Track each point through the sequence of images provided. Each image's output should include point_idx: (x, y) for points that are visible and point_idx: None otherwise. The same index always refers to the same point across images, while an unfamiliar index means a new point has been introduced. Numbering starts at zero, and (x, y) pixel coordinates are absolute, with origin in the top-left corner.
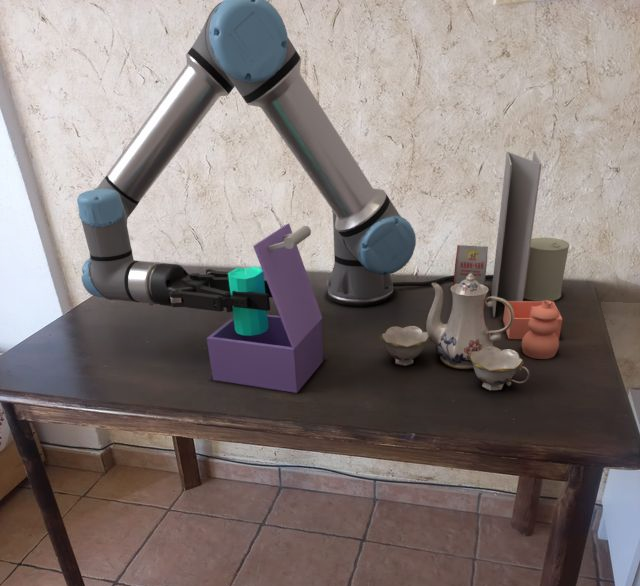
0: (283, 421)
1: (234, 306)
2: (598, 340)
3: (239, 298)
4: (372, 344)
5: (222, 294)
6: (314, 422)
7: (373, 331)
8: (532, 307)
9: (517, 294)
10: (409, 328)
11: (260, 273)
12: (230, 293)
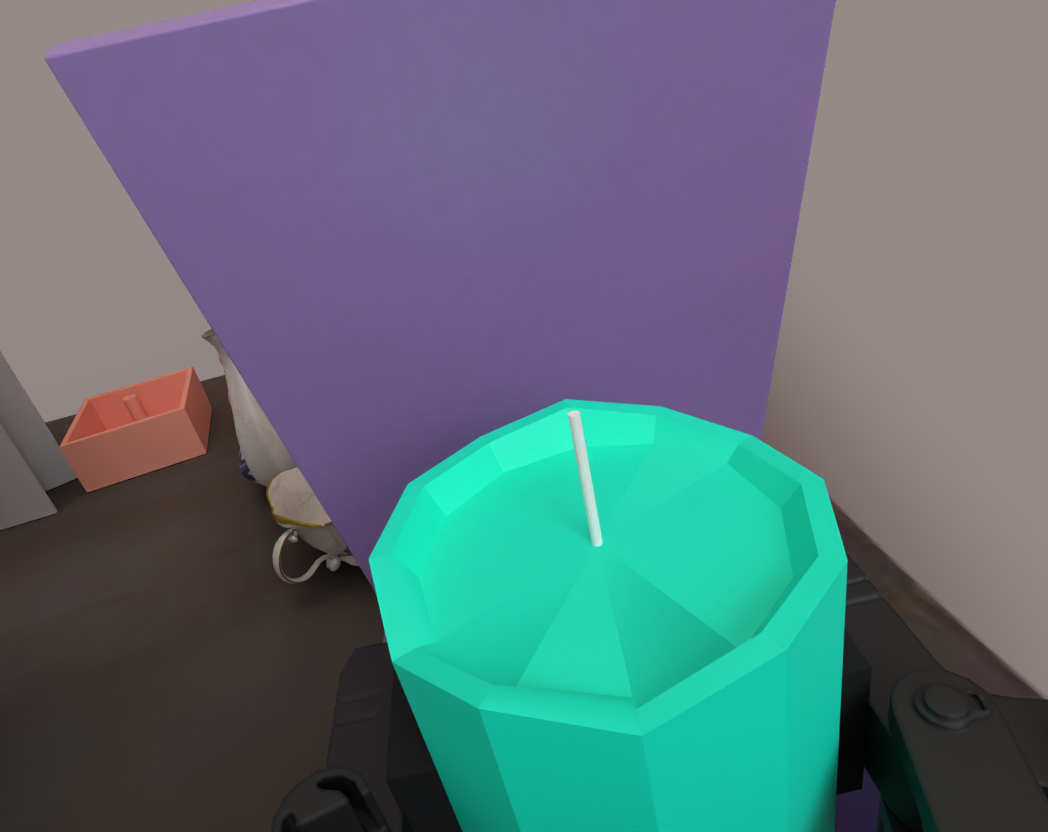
0: (943, 608)
1: (859, 779)
2: (216, 379)
3: (869, 585)
4: (248, 675)
5: (1020, 751)
6: (853, 542)
7: (113, 732)
8: (129, 398)
9: (18, 444)
10: (275, 496)
11: (573, 404)
12: (908, 673)
